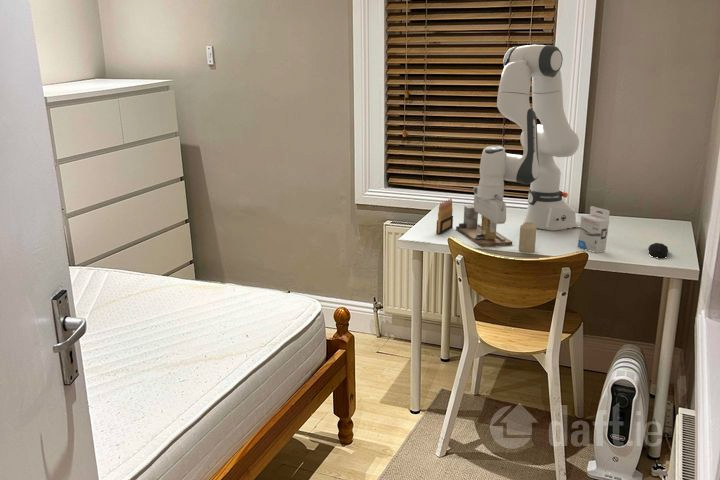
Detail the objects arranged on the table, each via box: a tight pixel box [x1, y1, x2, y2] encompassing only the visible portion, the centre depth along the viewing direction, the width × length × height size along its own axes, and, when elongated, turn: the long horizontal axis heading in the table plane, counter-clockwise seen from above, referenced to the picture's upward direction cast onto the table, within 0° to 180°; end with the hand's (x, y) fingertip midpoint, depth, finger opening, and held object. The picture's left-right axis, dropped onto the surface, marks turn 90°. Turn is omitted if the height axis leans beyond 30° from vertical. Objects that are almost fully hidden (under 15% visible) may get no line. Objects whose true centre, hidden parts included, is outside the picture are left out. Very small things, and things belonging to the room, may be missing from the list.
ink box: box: [577, 205, 610, 254], centre depth 240 cm, size 9×5×15 cm, turn 33°
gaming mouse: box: [647, 242, 669, 259], centre depth 236 cm, size 6×15×4 cm, turn 158°
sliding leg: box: [476, 216, 497, 240], centre depth 248 cm, size 6×4×8 cm, turn 104°
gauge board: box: [455, 204, 513, 248], centre depth 255 cm, size 12×24×9 cm, turn 14°
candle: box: [518, 222, 538, 253], centre depth 239 cm, size 6×6×10 cm
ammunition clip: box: [435, 198, 454, 235], centre depth 262 cm, size 11×2×12 cm, turn 147°
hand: (488, 229), depth 249 cm, fingers closed on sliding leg, 4 cm apart
